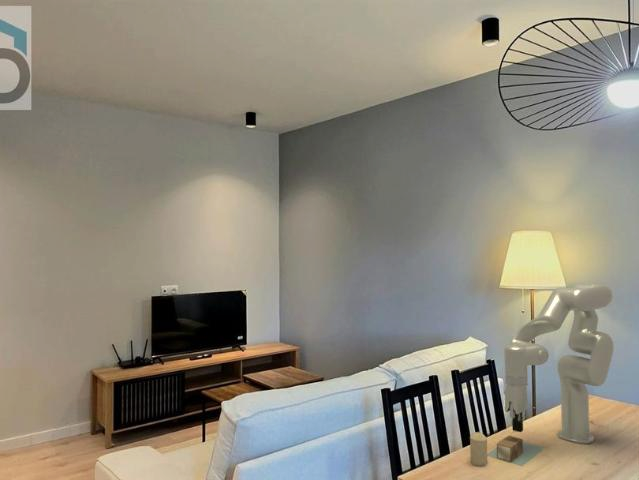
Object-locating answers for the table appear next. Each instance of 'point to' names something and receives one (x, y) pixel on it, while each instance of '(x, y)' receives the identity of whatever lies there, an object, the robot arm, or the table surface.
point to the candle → (478, 449)
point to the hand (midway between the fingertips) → (517, 430)
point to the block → (509, 448)
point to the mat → (527, 455)
